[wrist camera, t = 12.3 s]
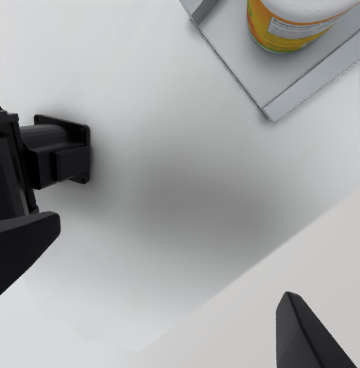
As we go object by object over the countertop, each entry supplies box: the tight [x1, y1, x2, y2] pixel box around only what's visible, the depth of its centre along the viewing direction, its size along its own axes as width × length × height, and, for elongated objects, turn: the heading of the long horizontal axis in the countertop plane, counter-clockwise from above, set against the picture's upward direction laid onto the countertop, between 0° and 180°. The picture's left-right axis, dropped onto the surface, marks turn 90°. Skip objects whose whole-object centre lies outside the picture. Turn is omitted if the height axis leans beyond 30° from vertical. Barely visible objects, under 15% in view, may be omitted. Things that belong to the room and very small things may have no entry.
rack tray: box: [179, 0, 360, 123], centre depth 13 cm, size 10×10×3 cm
